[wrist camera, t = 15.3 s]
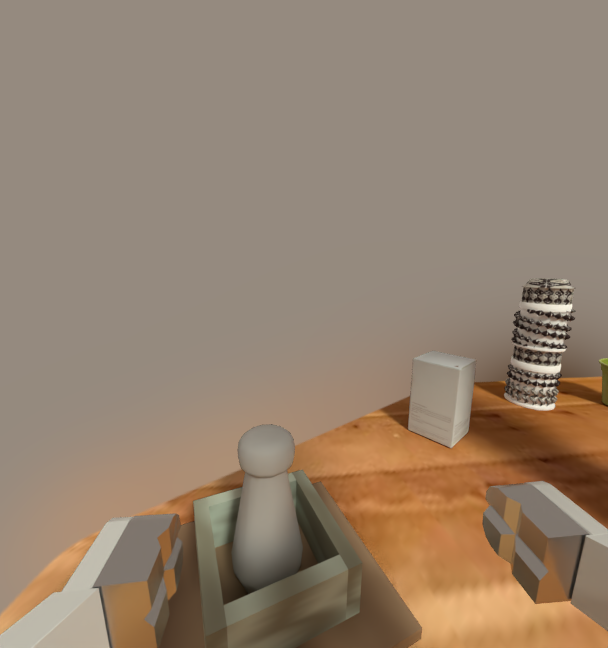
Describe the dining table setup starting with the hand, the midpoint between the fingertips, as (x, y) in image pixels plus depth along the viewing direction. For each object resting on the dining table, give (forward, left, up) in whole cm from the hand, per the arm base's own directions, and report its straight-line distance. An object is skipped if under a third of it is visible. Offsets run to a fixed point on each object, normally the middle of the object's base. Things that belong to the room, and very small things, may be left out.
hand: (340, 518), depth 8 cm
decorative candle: (-62, -27, -20) cm, 71 cm away
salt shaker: (-2, -14, -19) cm, 24 cm away
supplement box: (-35, -26, -20) cm, 48 cm away
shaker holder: (-2, -14, -20) cm, 24 cm away
